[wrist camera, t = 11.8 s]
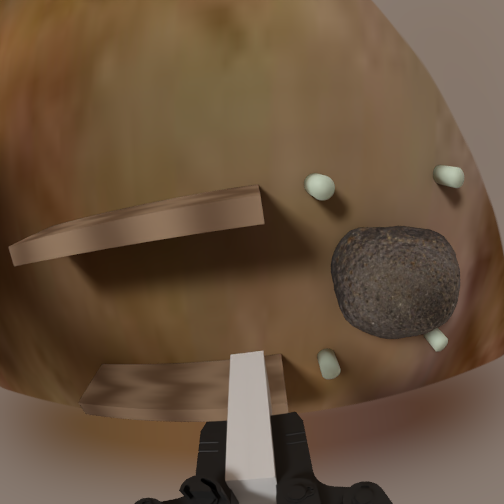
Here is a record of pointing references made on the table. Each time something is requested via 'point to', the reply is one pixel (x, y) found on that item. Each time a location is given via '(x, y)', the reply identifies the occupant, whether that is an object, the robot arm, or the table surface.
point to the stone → (395, 280)
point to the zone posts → (324, 190)
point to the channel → (158, 375)
